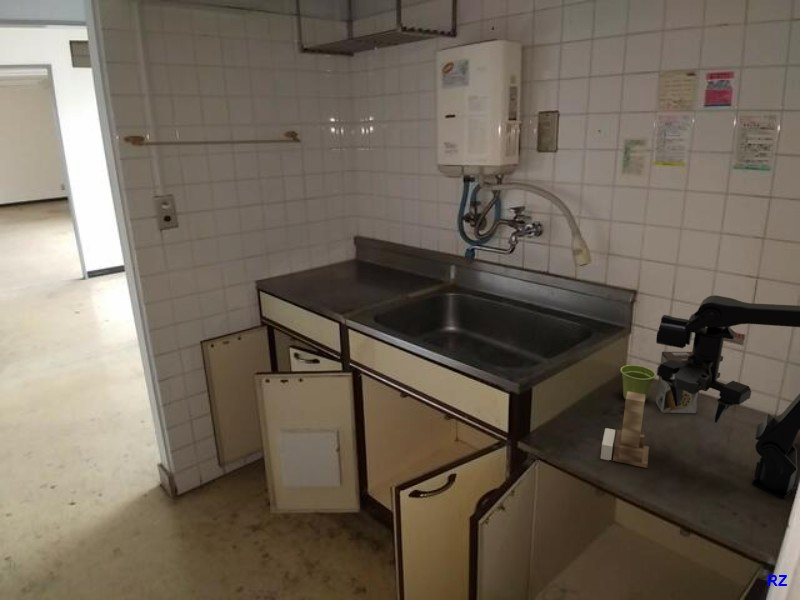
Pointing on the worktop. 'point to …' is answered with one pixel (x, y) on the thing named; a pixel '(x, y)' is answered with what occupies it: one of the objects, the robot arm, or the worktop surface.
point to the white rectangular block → (607, 444)
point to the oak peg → (632, 419)
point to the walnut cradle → (630, 452)
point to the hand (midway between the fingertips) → (696, 413)
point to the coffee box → (665, 394)
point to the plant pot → (637, 379)
